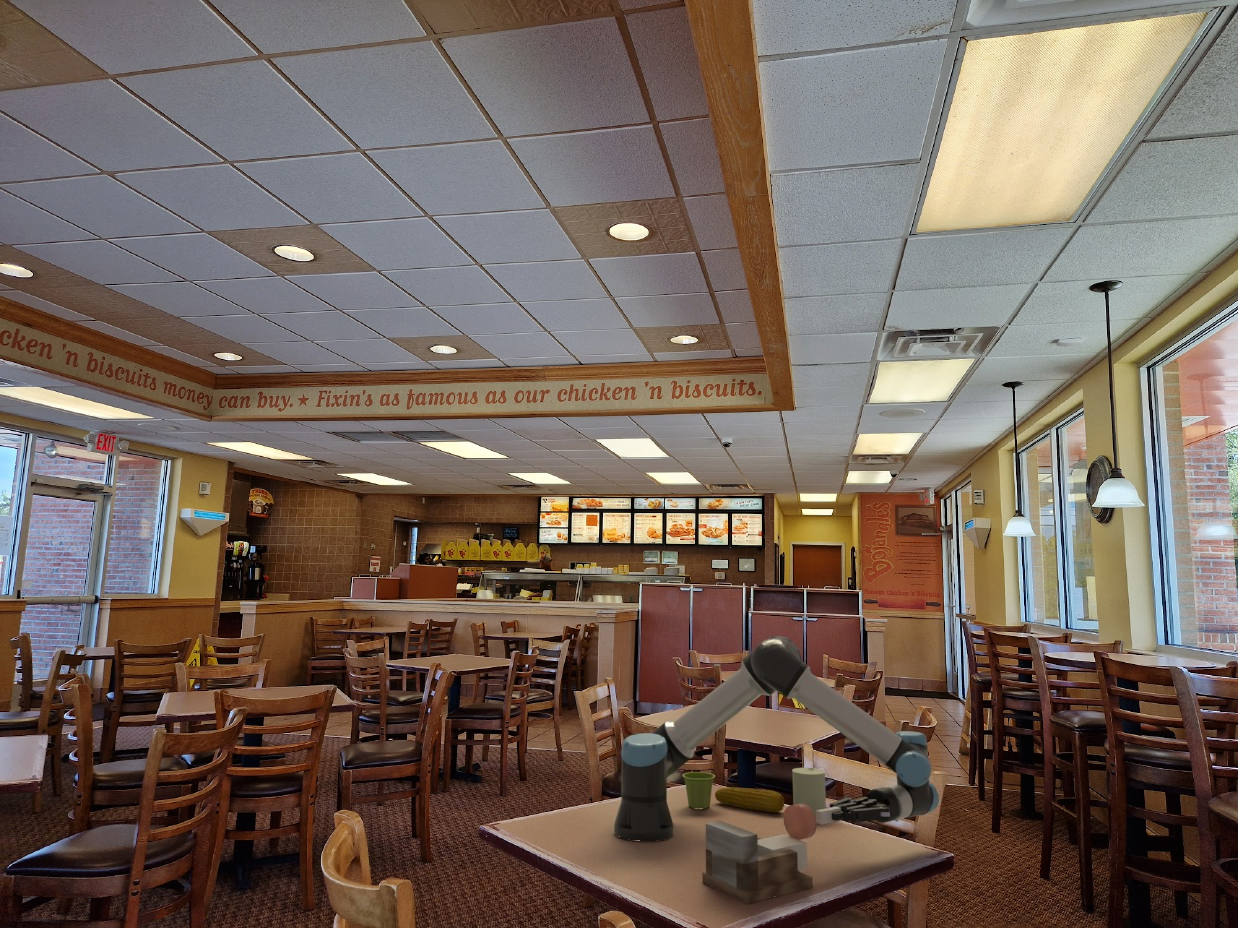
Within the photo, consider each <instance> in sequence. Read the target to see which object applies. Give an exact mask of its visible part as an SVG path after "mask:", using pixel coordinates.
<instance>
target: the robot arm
mask: <svg viewBox="0 0 1238 928" xmlns="http://www.w3.org/2000/svg"><path fill="white" fill-rule="evenodd" d="M801 654H802V653H801V651H800V649H799V648H798V646H797V645H796V644H795V643H794V642H793V641H792V640H790V639H789V638H788V637H784V636H777V635H776V636H773V637H769V638H768V639H764V640H762V641H760V642H759V643H757V645H756V646H755V647H754V649H753V650H752V651H751V652H750V653H749V654H747V655H746V656H745V657H744V658H743V659H742V660H741V666H740V668H739V669H738V670H737V671H736V672H735V673H733V674H732V675H731V676H730V677H728V678H727V679H725V681H723V682H722V683H721V684H719V685H718V686H717V687H716V688H715V689H714V690H712V691H711V692H710V693H708V694H707V695H706V696H705V697H703V698H702V699H701V700H700V701H699V702H697V703H696V704H695V705H694V706H692V707H691V708H690V709H689V710H688V711H686V712H685V713H684V714H682V715H681V716H680V717H679V718H678V719H676V720H675V721H671V720H666V721H664V723H662V724H661V725H660V726H658V727H657V728H656V729H654V730H653V731H652V732H651V733H650V732H649V733H647V732H646V733H645V732H644V733H643V732H642V733H637V734H632V735H631V734H630V735H629V736H627V737H625V738H624V740H623V741H622V745H621V751H620V757H621V787H620V788H621V789H620V790H621V793H620V794H621V797H620V799H621V800H620V804H619V807H618V811H617V814H616V817H615V821H614V823H613V825H614V826H613V833H614V832H615V834H616V835H617V836H616V835H615V834H614V835H615V836H616V837H618V836H620V837H622V838H624V839H623V840H626V839H630V840H629V841H631V840H640V841H639V842H641V841H651V842H657V841H656V840H660V841H664V839H665V840H667V839H670V838H672V837H673V836H674V832H675V831H674V822H673V819H672V815H671V812H670V808H669V805H668V801H667V798H668V797H667V793H668V792H667V791H668V788H667V787H668V786H667V784H668V778H669V777H670V776H672V775H673V774H675V773H676V772H677V771H678V770H679V769H680V768H681V767H682V766H684V765H685V764H686V763H687V762H689V761H690V760H691V759H692V758H694V753H695V749H696V748H697V747H698V746H699V745H701V744H702V743H703V742H705V740H707V738H709V737H710V736H711V735H713V734H714V733H715V732H717V731H718V730H720V728H722V727H723V726H724V725H725V724H727V723H728V722H729V721H730V720H732V719H733V718H734V717H735V716H737V715H738V714H739V713H741V712H742V711H743V710H745V708H747V707H748V706H749V705H751V704H752V703H753V702H754V701H755V700H757V699H758V698H759V697H761V696H770V697H771V695H773V694H774V693H776V692H777V693H779V694H780V695H782V696H783V697H785V699H787V700H790V699H794V700H796V701H797V702H798V703H800V704H801V705H802V706H804V708H806V709H808V710H809V711H810V712H812V713H813V714H814V715H816V716H817V717H819V718H820V719H822V720H823V721H824V722H826V724H829V726H831V727H833V728H834V729H835V730H837V731H838V732H839V733H841V735H843V736H844V737H846V738H847V739H848V740H850V741H851V742H853V743H854V744H856V745H857V746H858V747H860V749H862V750H864V751H865V752H867V753H868V754H869V755H870V756H871V757H872V756H873V757H874V758H875V759H876V760H877V761H879V762H881V763H882V764H883V765H884V766H886V767H887V768H888V769H889V770H890V771H892V772H893V773H894V774H896V784H891V785H886V786H883V787H877V788H873V789H871V790H869V791H868V792H867V794H866V796H862V797H860V798H856V799H852V798H851V797H850V796H844V798H842V799H839V800H837V801H833V802H830V803H829V807H826V809H821V810H816V824H818V825H821V826H822V825H827V824H831V823H832V824H833V823H837V822H838V823H839V822H841V821H845V822H848V821H849V822H851V823H853V824H854V823H863V822H873V821H876V822H877V823H880V824H884V823H889V822H893V821H894V822H899V820H901V819H907V818H912V817H917V816H924V815H926V814H930V813H932V812H933V811H935V810H936V809H937V808H938V807H939V804H940V796H939V793H938V791H937V788H936V786H935V785H934V784H932V782H930V779H931V774H932V764H931V761H930V759H929V755H928V742H927V741H928V740H927V737H926V735H925V734H924V733H922V732H918V731H911V730H910V731H909V730H907V731H906V730H904V731H897V732H896V733H895V732H893V730H891V729H890V728H889V727H888V726H887V727H886V726H885V725H884V724H883V723H881V721H878V720H877V719H876V718H874V717H873V716H872V715H870V714H869V713H867V712H866V711H865V710H864V709H862V708H860V707H859V706H858V705H856V704H855V703H853V702H852V701H850V699H848V698H847V697H845V696H844V695H842V694H841V693H839V692H838V691H837V690H835V689H834V688H833V687H832V686H830V685H829V684H827V683H825V682H824V681H823V680H822V679H820V678H819V677H817V676H816V675H814V674H813V673H812V672H811V667H810V666H809V665H808V664H806V663H805V662H803V661H802V660H803V658H802V655H801ZM620 837H619V838H620ZM622 838H621V839H622Z"/></svg>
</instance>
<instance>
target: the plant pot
mask: <svg viewBox="0 0 1238 928" xmlns="http://www.w3.org/2000/svg"><path fill="white" fill-rule="evenodd" d="M715 777H716V775H715V774H713V773H710V772H702V771H693V772H692V771H691V772H686V773H682V778H683V779H684V780H683V781H684V783H685V788H686V789H685V790H686V796H687V797H686V798H687V805H688V807H689V806H690V807H689V808H692V809H693V808H704V809H709V808H710V807H711V798H712V789H713V783H714V779H715ZM708 807H709V808H708Z"/></svg>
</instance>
